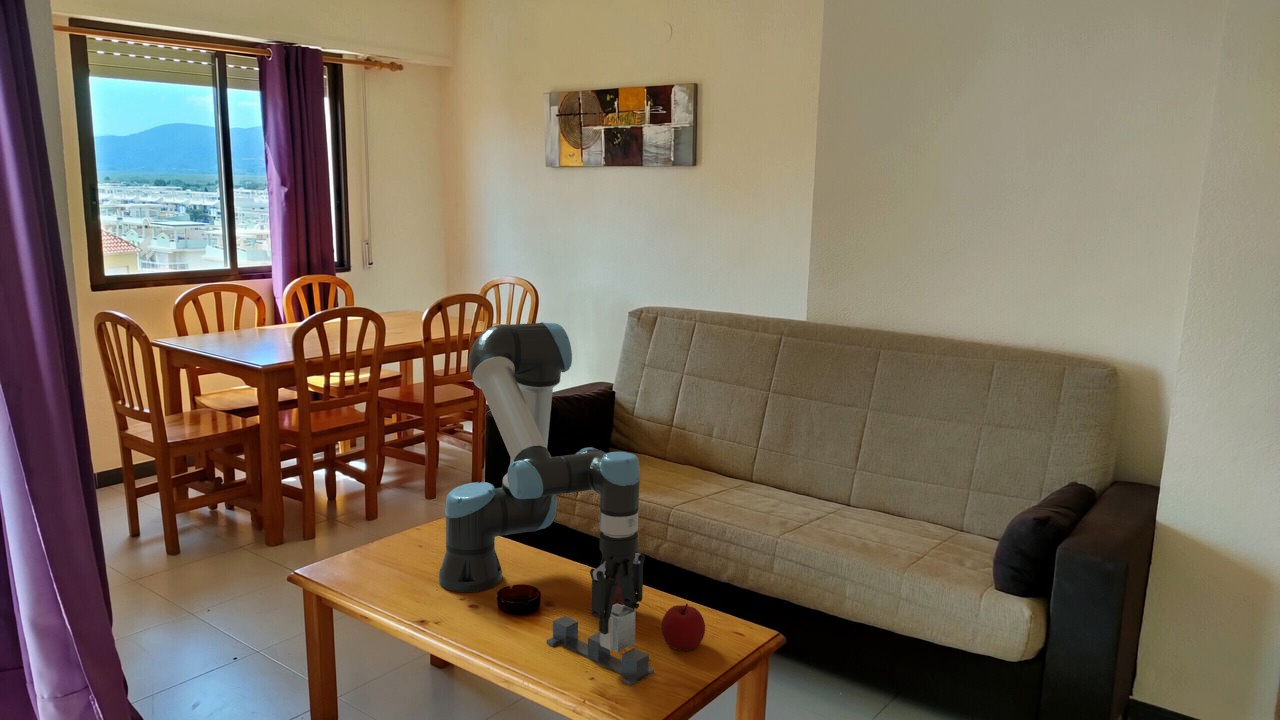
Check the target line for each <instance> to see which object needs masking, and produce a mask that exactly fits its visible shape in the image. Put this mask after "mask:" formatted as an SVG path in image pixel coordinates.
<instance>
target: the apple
mask: <svg viewBox="0 0 1280 720" xmlns="http://www.w3.org/2000/svg"><path fill="white" fill-rule="evenodd" d="M705 623H706V622H705V620H704V617H703V615H702V614H701V612H700V611H699V610H698V609H696V608H695V607H693V606H692V605H691V606H690V605H689V604H688V603H686V604H685V605H684V604H683V605H679V604H678V605H677V604H676V605H673V606H672V607H670V608H669V609H667V611H666V612H665V614H664V616H663V617H662V620H661V624H660V630H661V634H662V637H663V639H664V642H665V643H666V644H667V645H668V646H669V647H670V648H671V649H674V650H677V651H682V652H684V651H690V650H693V649H695V648H698V647H699V645H700V644H701V643H702V641H703V640H704V637H705V634H706V624H705Z"/></svg>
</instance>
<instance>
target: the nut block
mask: <svg viewBox="0 0 1280 720" xmlns="http://www.w3.org/2000/svg"><path fill="white" fill-rule="evenodd" d="M610 617H612V618H613V649H611V651H614V652H616V653H619V652H621V651H624V650H626V649H627V648H629V647H631V646H633V645H635V644H636V610H635V609H634V610H632V609H630V608H627V607H625V606H623V605H620V604H618V603H617V604H615V605H613V606H612V611H611V616H610ZM600 639H601V633H600Z"/></svg>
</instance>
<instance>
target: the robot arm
mask: <svg viewBox="0 0 1280 720" xmlns="http://www.w3.org/2000/svg"><path fill="white" fill-rule="evenodd" d="M572 352H573V350H572V346H571V342H570V339H569V336H568V334H567V332H566V330H565V328H564V327H563V326H562V325H561V324H559V323H557V322H556V323H555V322H543V321H542V322H535V323H533V322H531V323H514V324H513V323H512V324H505V323H504V324H496V325H493V326H491V327H489V328H487V329H486V330H484V331H482V332H481V334H479V336H478V337H477V338H476V339H475V341H474V342H473V344H472V346H471V349H470V351H469V356H468V369H469V371H468V372H469V375H470V378H471V379H472V382H473V384H474V386H476V387H477V388H478V389H480V390H481V391H482V394H483V396H484V398H485V401H486V403H487V404H488V407H489V410H490V413H491V414H492V417H493V419H494V421H495V424H496V426H497V428H498V431H499V433H500V436H501V438H502V441H503V442H504V445H505V448H506V450H507V453H508V454H509V456H510V461H509V462H510V463H509V466H508V469H507V473H506V474H505V475H504V476H503V478H502V483H501V487H496V488H495V486H494V485H493V484H492V483H489V482H485V481H482V482H478V481H476V482H469V483H465V484H461V485H459V486H457V487H455V488H453V489H452V490H451V491H450V492H448V494H447V495H446V499H445V509H444V515H445V553H444V555H443V556H444V557H443V559H442V563H441V567H440V569H439V571H438V583H439V585H440V586H441V587H443V589H446V590H447V591H451V592H457V593H476V592H478V593H479V592H483V591H487V590H490V589H492V588H495V587H496V586H498V585H499V584H500V583H501V582H502V578H503V570H502V567H501V563H500V560H499V557H498V554H497V552H496V549H495V546H496V545H495V538H496V537H501V536H509V535H513V534H514V535H515V534H521V533H527V532H530V533H532V532H536V531H538V530H542V529H543V530H544V529H546V528H548V527H550V526H551V524H552V523H553V521H554V519H555V518H556V513H557V508H558V501H557V495H562V494H563V495H564V494H573V493H579V492H586V491H594V492H596V493H597V494H599V495H600V497H599V499H600V501H599V502H600V503H599V505H600V508H599V530H600V533H599V551H600V553H601V555H602V557H601V561H600V565H599V566H598V567H597V568H591V569H590V571H589V574H590V579H591V597H590V598H591V602H590V606H591V607H590V608H591V609H590V615H591V616H593V617H595V618H597V619H599V620H598V621H599V622H598V631H599V632H600V633H601V639H600V646H602V647H605V648H607V649H609V650H610V651H612V649H613V618H612V617H610V616H611V611H612V606H613V601H614V595H615V590H616V586H617V585H618V584H619V580H620V584H621V590H622V596H623V601H624V604H625V605H623V606H625V607H627V608H630V609H632V610H635V609H636V610H637V609H639V607H640V604H639V603H640V602H642V601H643V594H644V593H643V590H644V589H643V588H644V587H643V586H644V565H645V559H646V555H644V554H643V553H641V552H637V551H638V550H639V549H638V547H639V546H638V545H639V534H638V529H639V503H640V501H639V500H640V479H641V470H640V460H639V457H638V456H637V454H634V453H631V452H628V451H610V452H605V451H603V450H599V449H597V448H596V447H595V448H594V447H584V448H581V449H580V450H579V451H577V452H575V453H574V454H568V455H559V456H552V455H551V453H550V451H549V450H548V445H549V444H548V443H549V441H548V440H549V435H550V434H549V433H550V422H551V412H552V400H553V392H554V390H553V389H554V388H555V387H556V386H558V385H559V384H560V383H561V376H562V375H561V374H562V373H566V372H568V371H569V370H570V368H571V366H572V364H573V363H572V362H573V353H572ZM611 578H612V579H611ZM613 579H614V580H613ZM635 593H636V594H635ZM638 602H639V603H638ZM634 608H635V609H634ZM599 632H598V633H599Z"/></svg>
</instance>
